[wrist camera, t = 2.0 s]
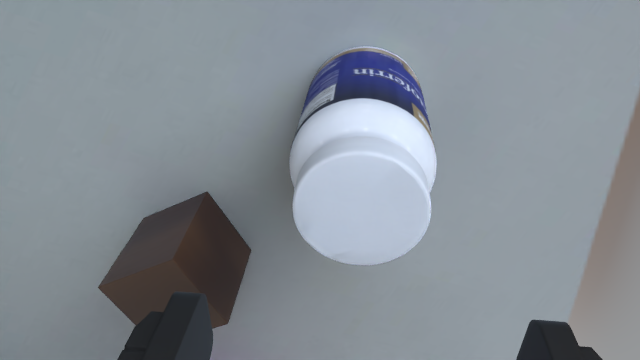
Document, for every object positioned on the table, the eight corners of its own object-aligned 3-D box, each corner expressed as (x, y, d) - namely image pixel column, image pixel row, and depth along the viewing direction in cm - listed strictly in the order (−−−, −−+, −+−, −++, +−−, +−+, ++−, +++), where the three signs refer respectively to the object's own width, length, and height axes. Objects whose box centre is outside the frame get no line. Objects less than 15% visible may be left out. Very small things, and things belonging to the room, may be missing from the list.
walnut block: (143, 218, 30) (97, 287, 25) (207, 191, 28) (172, 259, 23) (189, 272, 32) (156, 346, 27) (251, 250, 30) (228, 324, 25)
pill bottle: (445, 86, 23) (486, 203, 15) (374, 166, 26) (376, 301, 18) (351, 18, 22) (340, 105, 14) (287, 109, 25) (245, 227, 17)
